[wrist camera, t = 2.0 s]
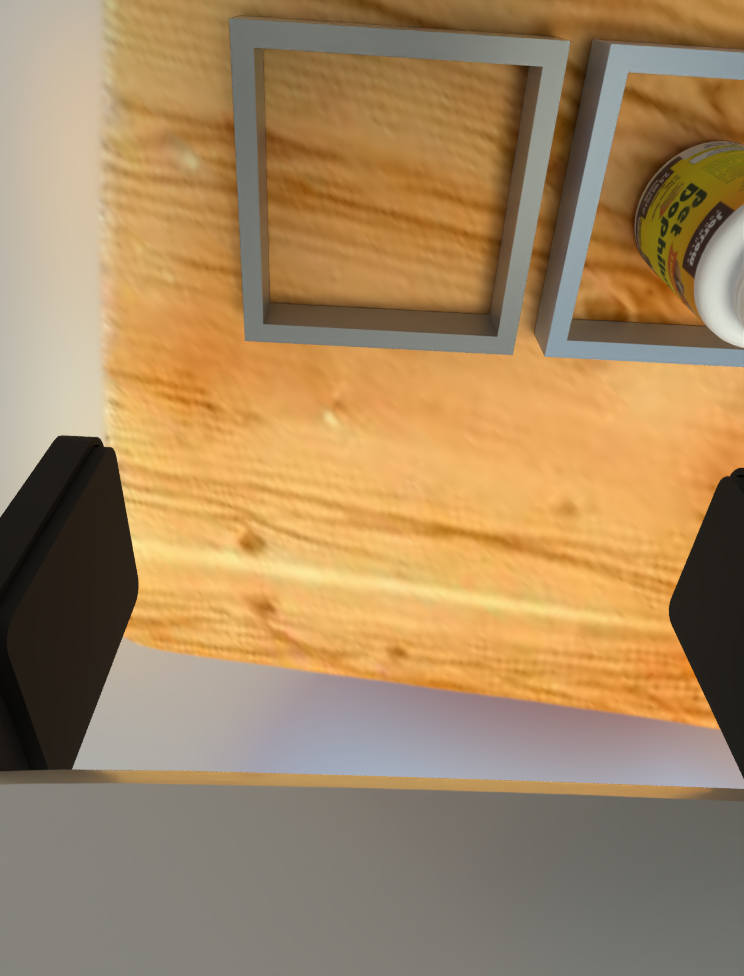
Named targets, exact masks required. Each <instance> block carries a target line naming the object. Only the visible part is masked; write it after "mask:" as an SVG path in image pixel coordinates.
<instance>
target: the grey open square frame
mask: <svg viewBox="0 0 744 976" xmlns="http://www.w3.org/2000/svg"><path fill="white" fill-rule="evenodd" d="M229 27H230V47H231V68H232V88H233V108H234V128H235V148H236V168H237V188H238V208H239V228H240V249H241V269H242V289H243V309H244V329H245V341H256V342H275V343H294V344H313V345H332V346H351V347H370V348H389V349H408V350H427V351H446V352H465V353H484V354H504V355H513V351H514V346H515V341H516V335H517V330H518V324H519V319H520V314H521V308H522V303H523V297H524V292H525V286H526V281H527V276H528V270H529V265H530V259H531V254H532V248H533V243H534V238H535V232H536V227H537V221H538V216H539V210H540V205H541V200H542V194H543V189H544V183H545V178H546V172H547V167H548V162H549V156H550V151H551V145H552V140H553V135H554V129H555V124H556V118H557V113H558V107H559V102H560V97H561V91H562V86H563V80H564V75H565V69H566V64H567V59H568V53H569V48H570V42H571V41H569V40H565V39H562V38H558V37H552V36H537V35H522V34H507V33H492V32H477V31H462V30H447V29H432V28H417V27H403V26H388V25H373V24H358V23H343V22H328V21H313V20H298V19H283V18H269V17H254V16H236V17H232V18H229ZM263 48H267V49H282V50H297V51H312V52H327V53H343V54H358V55H373V56H388V57H404V58H419V59H434V60H449V61H464V62H480V63H495V64H510V65H525V66H529V69H528V76H527V82H526V88H525V95H524V101H523V107H522V114H521V120H520V126H519V133H518V139H517V145H516V151H515V158H514V164H513V170H512V177H511V183H510V189H509V196H508V202H507V208H506V215H505V221H504V227H503V234H502V240H501V246H500V252H499V259H498V265H497V271H496V278H495V284H494V290H493V297H492V303H491V309H490V315H486V314H468V313H449V312H431V311H412V310H394V309H376V308H357V307H339V306H320V305H302V304H284V303H270V281H269V244H268V207H267V170H266V133H265V97H264V60H263Z"/></svg>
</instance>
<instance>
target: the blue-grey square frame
mask: <svg viewBox="0 0 744 976" xmlns="http://www.w3.org/2000/svg"><path fill="white" fill-rule="evenodd" d="M628 72H632V73H647V74H662V75H677V76H692V77H708V78H723V79H738V80H744V49H730V48H715V47H700V46H686V45H671V44H656V43H641V42H626V41H611V40H596V39H593V41H592V46H591V51H590V56H589V61H588V66H587V71H586V76H585V81H584V86H583V91H582V96H581V101H580V106H579V111H578V116H577V121H576V126H575V131H574V136H573V141H572V146H571V151H570V156H569V161H568V166H567V171H566V176H565V181H564V186H563V191H562V196H561V201H560V206H559V211H558V216H557V221H556V226H555V231H554V236H553V241H552V246H551V251H550V256H549V261H548V266H547V271H546V276H545V281H544V286H543V292H542V297H541V302H540V307H539V312H538V317H537V322H536V327H535V332H534V335H535V337H536V339H537V341H538V343H539V345H540V348H541V350H542V352H543V354H544V356H545V357H561V358H580V359H599V360H618V361H637V362H656V363H675V364H694V365H713V366H732V367H744V348H742V347H738V346H735V345H732V344H730V343H728V342H725V341H724V340H722V339H721V338H719V337H718V336H717V335H716V334H714V333H713V332H712V331H711V330H710V329H709V328H708V327H707V326H688V325H670V324H652V323H633V322H615V321H596V320H578V319H572V316H573V311H574V307H575V303H576V298H577V294H578V289H579V285H580V281H581V276H582V272H583V268H584V263H585V259H586V255H587V250H588V246H589V241H590V237H591V233H592V228H593V224H594V220H595V215H596V211H597V206H598V202H599V198H600V193H601V189H602V185H603V180H604V176H605V171H606V167H607V163H608V158H609V154H610V150H611V145H612V141H613V136H614V132H615V128H616V123H617V119H618V115H619V110H620V106H621V102H622V97H623V93H624V88H625V84H626V80H627V75H628Z"/></svg>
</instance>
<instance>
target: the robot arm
mask: <svg viewBox="0 0 744 976" xmlns="http://www.w3.org/2000/svg"><path fill="white" fill-rule="evenodd" d="M137 595H138V575H137V569H136V564H135V558H134V552H133V547H132V541H131V536H130V530H129V525H128V519H127V513H126V508H125V502H124V497H123V491H122V486H121V480H120V474H119V469H118V463H117V458H116V454H115V451H114V449H113V448H112V447H104V445H103V443H102V441H101V439H100V438H98V437H83V436H63V435H62V436H58V437H57V438H56V439H55V440H54V441H53V443H52V444H51V446H50V447H49V449H48V450H47V451H46V453H45V454H44V456H43V457H42V459H41V460H40V462H39V463H38V464H37V466H36V467H35V469H34V470H33V472H32V473H31V474H30V476H29V477H28V479H27V480H26V482H25V483H24V484H23V486H22V487H21V489H20V490H19V491H18V493H17V495H16V496H15V497H14V499H13V500H12V501H11V503H10V505H9V506H8V507H7V509H6V510H5V512H4V513H3V514H2V516H1V517H0V976H744V789H729V788H702V787H677V786H650V785H625V784H599V783H570V782H568V783H567V782H540V781H508V780H480V779H449V778H418V777H387V776H351V775H316V774H280V773H244V772H207V771H153V770H152V771H151V770H150V771H148V770H147V771H146V770H72V768H73V765H74V762H75V760H76V757H77V755H78V752H79V749H80V747H81V744H82V742H83V739H84V736H85V734H86V731H87V728H88V726H89V723H90V720H91V718H92V715H93V713H94V710H95V708H96V705H97V702H98V700H99V697H100V695H101V692H102V689H103V686H104V684H105V682H106V679H107V676H108V674H109V671H110V668H111V666H112V663H113V661H114V658H115V655H116V653H117V650H118V647H119V645H120V642H121V640H122V637H123V635H124V632H125V629H126V627H127V624H128V621H129V619H130V616H131V614H132V611H133V608H134V606H135V603H136V600H137ZM669 617H670V621H671V624H672V627H673V629H674V631H675V633H676V635H677V637H678V639H679V642H680V644H681V646H682V648H683V650H684V652H685V654H686V656H687V659H688V661H689V663H690V665H691V667H692V669H693V671H694V674H695V676H696V678H697V680H698V682H699V684H700V686H701V688H702V691H703V693H704V695H705V697H706V699H707V701H708V703H709V706H710V708H711V710H712V712H713V714H714V716H715V718H716V720H717V723H718V725H719V727H720V729H721V731H722V733H723V735H724V738H725V739H726V742H727V744H728V746H729V748H730V750H731V752H732V755H733V757H734V759H735V761H736V763H737V765H738V767H739V770H740V771H741V774H742V776H743V778H744V468H738V469H736V470H735V471H734V472H733V473H732V474H731V475H730V476H726V477H723V478H722V479H721V480H720V482H719V484H718V486H717V488H716V491H715V493H714V496H713V498H712V500H711V503H710V505H709V508H708V510H707V513H706V515H705V517H704V520H703V522H702V525H701V527H700V530H699V532H698V535H697V537H696V539H695V542H694V544H693V547H692V549H691V552H690V554H689V556H688V559H687V561H686V564H685V566H684V569H683V571H682V573H681V576H680V578H679V581H678V583H677V586H676V588H675V591H674V593H673V595H672V598H671V601H670V605H669Z"/></svg>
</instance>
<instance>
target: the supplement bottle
mask: <svg viewBox="0 0 744 976" xmlns="http://www.w3.org/2000/svg"><path fill="white" fill-rule="evenodd" d="M635 238H636V243H637V246H638V249H639V251H640V253H641V255H642V257H643V258H644V260H645V261H646V262H647V264H648V265H649V266H650V268H651V269H652V270H653V271H654V272H655V273H656V274H657V275H658V276H659V277H660V278H661V279H662V280H663V281H664V282H665V283H666V284H667V285H668V287H669V288H670V289H671V290H672V291H673V292H674V293H675V294H676V295H677V296H678V297H679V298H680V299H681V300H682V301H683V303H684V304H685V305H686V306H687V307H688V308H689V309H690V310H691V311H692V312H693V313H694V314H695V315H696V316H697V317H698V318H699V319H700V320H701V321H702V322H703V323H704V324H705V325H706V326H707V327H708V328H709V329H710V330H711V331H712V332H713V333H714V334H716V335H717V336H718V337H719V338H721V339H722V340H724V341H725V342H728V343H730V344H732V345H735V346H738V347H742V348H744V145H742V144H738V143H734V142H728V141H713V142H707V143H703V144H699V145H696V146H693V147H691V148H689V149H687V150H685V151H683V152H681V153H679V154H678V155H676V156H675V157H673V158H672V159H670V160H669V161H668V162H667V163H666V164H664V165H663V166H662V167H661V168H660V169H659V170H658V171H657V173H656V174H655V175H654V176H653V177H652V179H651V180H650V182H649V183H648V185H647V186H646V188H645V190H644V192H643V194H642V196H641V198H640V201H639V204H638V207H637V211H636V216H635Z"/></svg>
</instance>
